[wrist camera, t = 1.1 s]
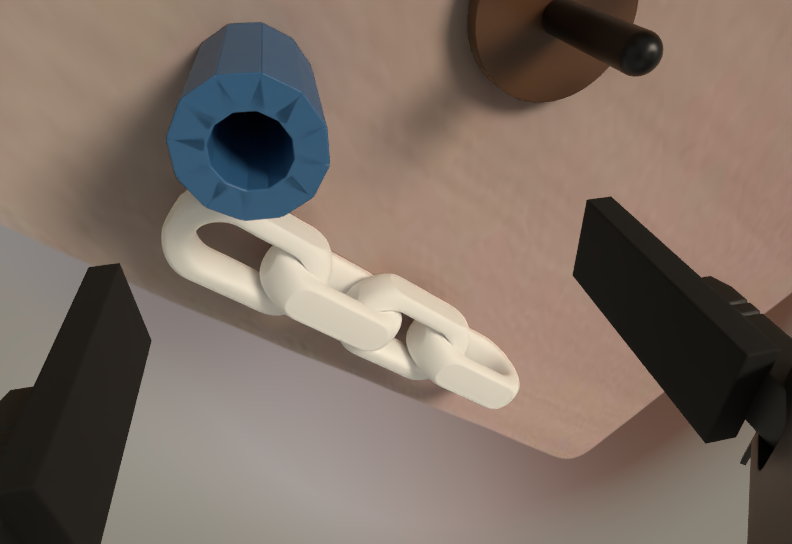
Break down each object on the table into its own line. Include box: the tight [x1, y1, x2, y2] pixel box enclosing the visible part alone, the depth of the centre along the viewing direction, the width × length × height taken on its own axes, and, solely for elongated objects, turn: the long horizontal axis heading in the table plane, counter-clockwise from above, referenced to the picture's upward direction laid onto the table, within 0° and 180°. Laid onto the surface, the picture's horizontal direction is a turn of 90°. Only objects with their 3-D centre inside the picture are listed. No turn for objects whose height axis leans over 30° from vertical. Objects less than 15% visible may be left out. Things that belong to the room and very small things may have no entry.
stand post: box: [542, 0, 663, 76], centre depth 28 cm, size 2×2×10 cm
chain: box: [161, 190, 519, 409], centre depth 39 cm, size 30×6×6 cm, turn 51°
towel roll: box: [166, 22, 330, 221], centre depth 28 cm, size 7×7×10 cm
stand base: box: [468, 0, 638, 102], centre depth 32 cm, size 10×10×2 cm
